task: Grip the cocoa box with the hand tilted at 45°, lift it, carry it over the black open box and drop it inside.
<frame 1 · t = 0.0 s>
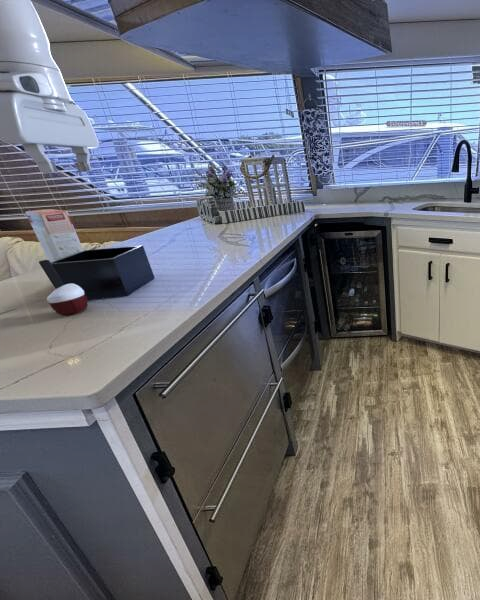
hand: (69, 172, 62), 30 cm above the worktop, tool pointing down, fingers open, 8 cm apart
black open box: (113, 289, 89), on the worktop
cracker box: (78, 282, 96), on the worktop
cocoa: (75, 312, 75), on the worktop
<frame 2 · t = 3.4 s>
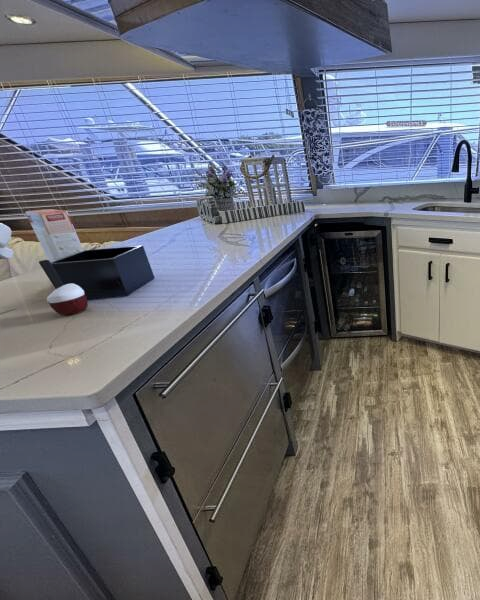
nothing on the worktop moved.
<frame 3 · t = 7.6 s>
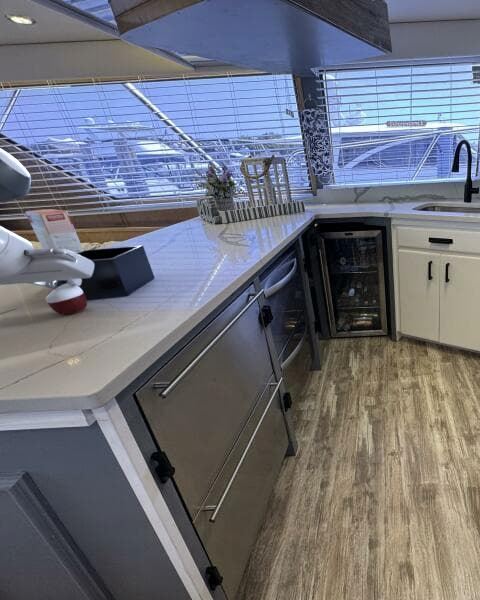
hand: (65, 284, 73), 7 cm above the worktop, tool tilted 45°, fingers closed on cocoa, 4 cm apart
cocoa: (75, 312, 75), on the worktop, touching gripper
everything else where it was.
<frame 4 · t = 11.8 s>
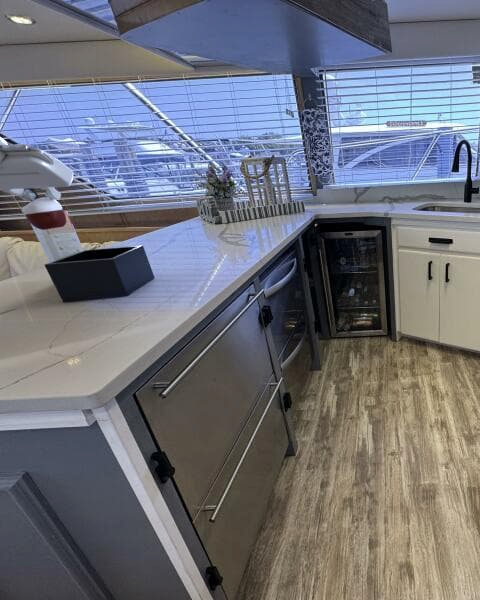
hand: (44, 197, 71), 25 cm above the worktop, tool tilted 45°, fingers closed on cocoa, 4 cm apart
cocoa: (53, 229, 73), point 18 cm above the worktop, touching gripper
everything else where it was.
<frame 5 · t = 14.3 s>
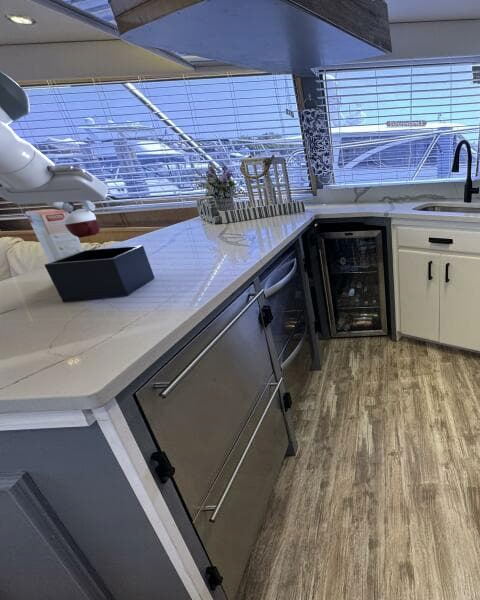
hand: (80, 209, 81), 21 cm above the worktop, tool tilted 45°, fingers closed on cocoa, 4 cm apart
cocoa: (88, 236, 83), point 15 cm above the worktop, touching gripper
everything else where it was.
when the fingers open (16 cm above the worktop, at t = 16.2 s): cocoa drops 9 cm, resting on black open box.
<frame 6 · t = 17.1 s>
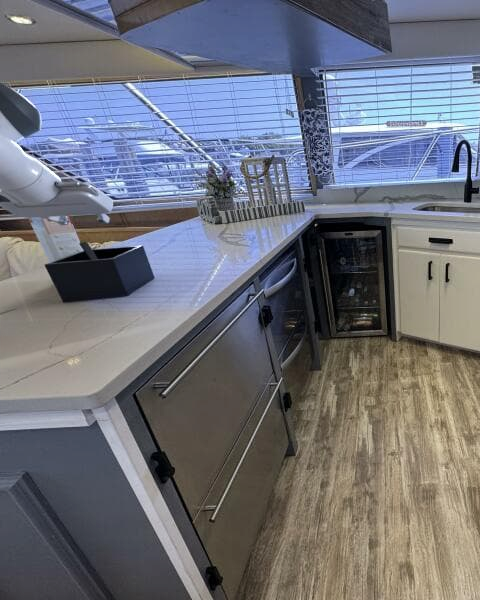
hand: (86, 221, 82), 18 cm above the worktop, tool tilted 45°, fingers open, 8 cm apart
cocoa: (111, 286, 88), point 1 cm above the worktop, touching black open box
everything else where it was.
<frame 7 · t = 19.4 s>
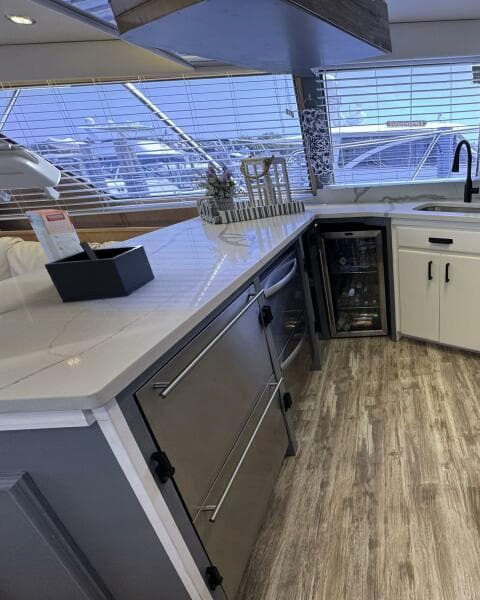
hand: (31, 198, 69), 25 cm above the worktop, tool tilted 45°, fingers open, 8 cm apart
nothing on the worktop moved.
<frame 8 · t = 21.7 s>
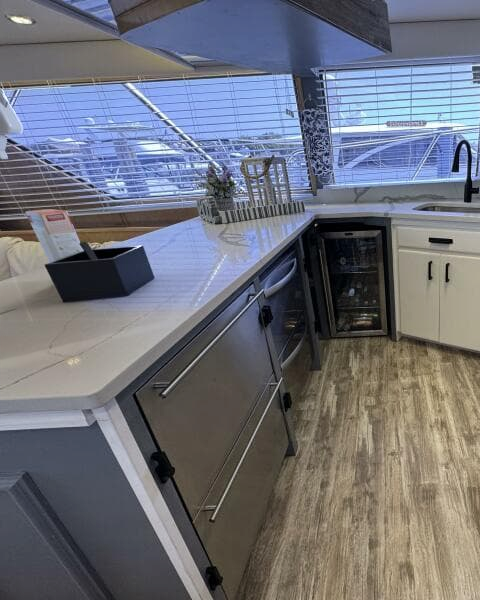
nothing on the worktop moved.
at the end: cocoa inside the target area in the black open box (0.1 cm from its centre), point 0.8 cm above the black open box's base; the gripper is holding nothing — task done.
